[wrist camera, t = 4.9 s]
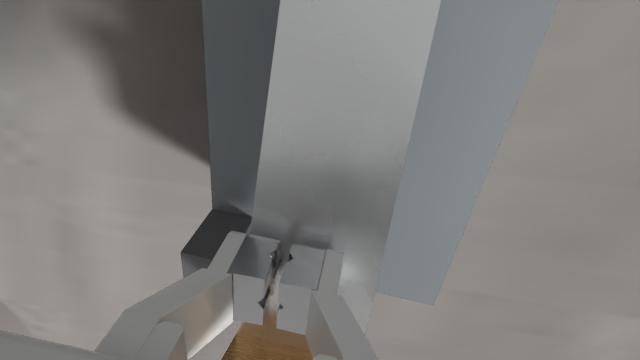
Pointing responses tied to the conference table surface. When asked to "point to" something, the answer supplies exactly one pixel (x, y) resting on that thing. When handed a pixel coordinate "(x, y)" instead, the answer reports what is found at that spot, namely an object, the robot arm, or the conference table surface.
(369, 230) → the lever
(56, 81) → the conference table surface
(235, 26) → the clamp block
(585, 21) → the conference table surface
